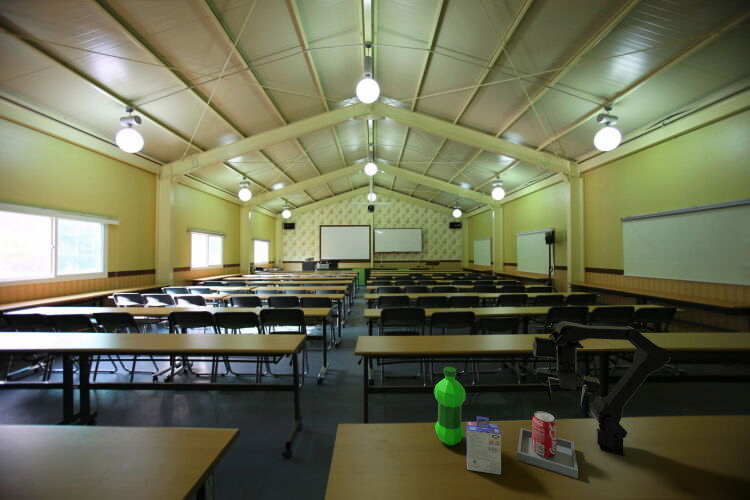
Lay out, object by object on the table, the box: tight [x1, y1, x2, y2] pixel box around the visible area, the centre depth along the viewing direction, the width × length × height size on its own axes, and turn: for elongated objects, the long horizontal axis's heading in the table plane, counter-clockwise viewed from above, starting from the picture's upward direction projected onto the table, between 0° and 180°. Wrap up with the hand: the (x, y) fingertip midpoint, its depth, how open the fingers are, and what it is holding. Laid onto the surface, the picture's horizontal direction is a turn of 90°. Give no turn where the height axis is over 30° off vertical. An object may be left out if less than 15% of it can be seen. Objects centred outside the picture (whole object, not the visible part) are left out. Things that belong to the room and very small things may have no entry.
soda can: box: [531, 410, 558, 458], centre depth 99 cm, size 7×7×12 cm
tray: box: [516, 427, 579, 480], centre depth 98 cm, size 16×15×2 cm
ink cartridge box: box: [466, 415, 502, 475], centre depth 93 cm, size 10×6×14 cm, turn 78°
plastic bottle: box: [433, 366, 467, 446], centre depth 105 cm, size 10×10×25 cm
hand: (565, 403), depth 105 cm, fingers open, 9 cm apart
